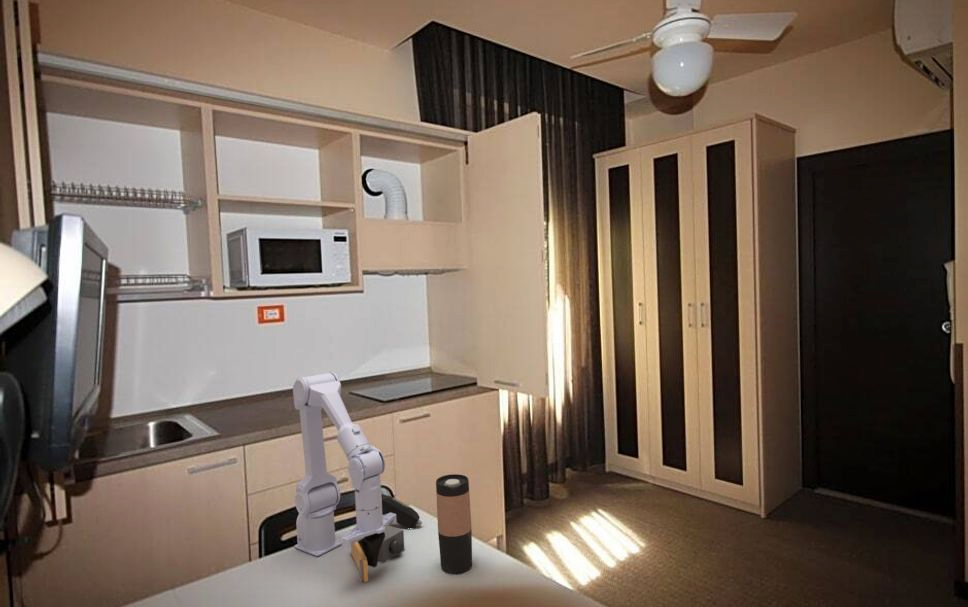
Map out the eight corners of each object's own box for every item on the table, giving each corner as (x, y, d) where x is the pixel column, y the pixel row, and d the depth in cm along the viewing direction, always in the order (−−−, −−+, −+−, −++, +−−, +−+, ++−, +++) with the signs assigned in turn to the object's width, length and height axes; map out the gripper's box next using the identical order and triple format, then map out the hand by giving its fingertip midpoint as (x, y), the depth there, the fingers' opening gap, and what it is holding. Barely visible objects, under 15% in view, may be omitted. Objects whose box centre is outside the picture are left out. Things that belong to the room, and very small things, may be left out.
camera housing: (355, 552, 133) (353, 529, 132) (376, 540, 138) (375, 519, 138) (388, 564, 126) (387, 540, 126) (409, 551, 132) (408, 529, 131)
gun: (408, 550, 144) (423, 518, 143) (356, 520, 147) (371, 488, 146) (412, 545, 147) (426, 513, 146) (361, 516, 150) (375, 485, 148)
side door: (348, 553, 132) (347, 533, 132) (354, 551, 133) (353, 532, 132) (361, 582, 118) (360, 561, 118) (368, 581, 119) (366, 559, 118)
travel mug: (454, 554, 129) (449, 472, 128) (480, 563, 124) (475, 477, 124) (433, 569, 123) (428, 482, 122) (459, 578, 118) (454, 488, 118)
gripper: (355, 521, 112) (359, 586, 113) (404, 497, 124) (407, 556, 124) (333, 515, 116) (337, 577, 117) (383, 492, 128) (386, 548, 128)
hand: (372, 565), depth 121 cm, fingers closed
